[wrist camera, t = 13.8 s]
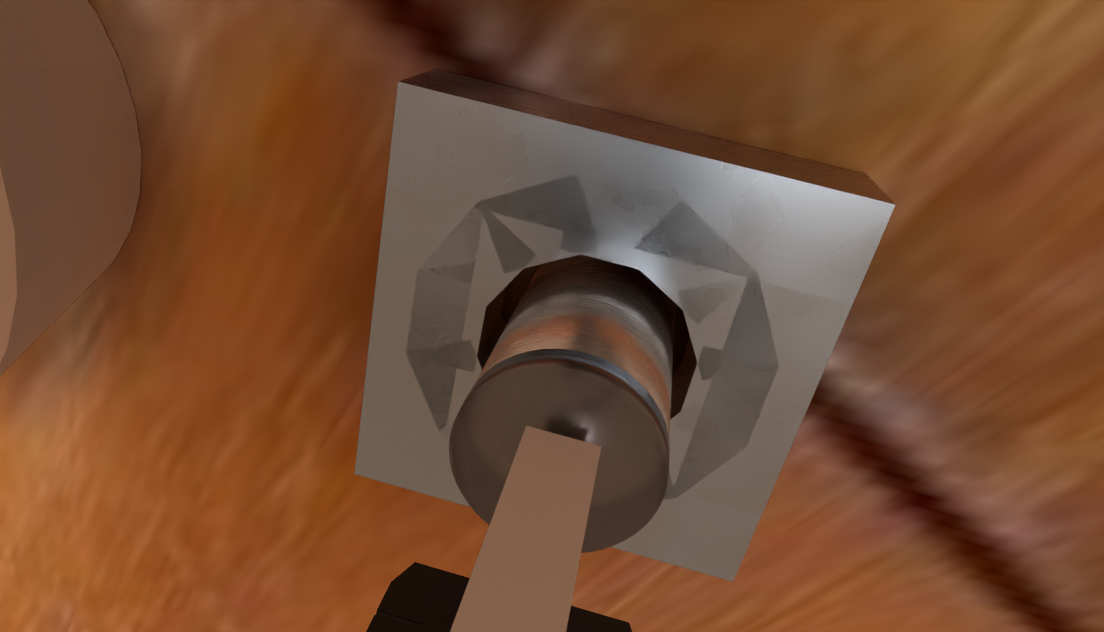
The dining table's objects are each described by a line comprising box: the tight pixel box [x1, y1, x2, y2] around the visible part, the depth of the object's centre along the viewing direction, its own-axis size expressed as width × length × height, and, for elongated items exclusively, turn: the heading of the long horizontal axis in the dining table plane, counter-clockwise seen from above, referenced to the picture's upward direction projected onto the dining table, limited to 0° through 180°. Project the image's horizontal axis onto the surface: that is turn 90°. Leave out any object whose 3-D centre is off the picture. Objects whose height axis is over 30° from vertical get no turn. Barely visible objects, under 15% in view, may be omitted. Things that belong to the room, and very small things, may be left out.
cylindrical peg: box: [449, 254, 675, 553], centre depth 19 cm, size 5×5×8 cm
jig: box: [355, 69, 895, 582], centre depth 21 cm, size 12×12×3 cm
